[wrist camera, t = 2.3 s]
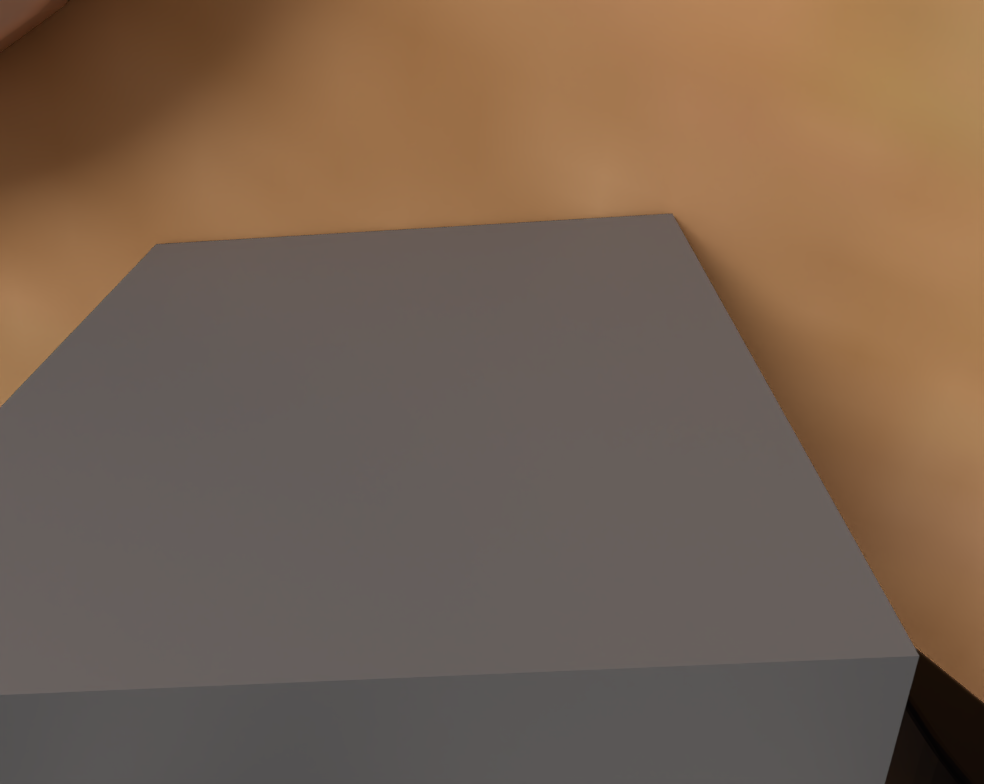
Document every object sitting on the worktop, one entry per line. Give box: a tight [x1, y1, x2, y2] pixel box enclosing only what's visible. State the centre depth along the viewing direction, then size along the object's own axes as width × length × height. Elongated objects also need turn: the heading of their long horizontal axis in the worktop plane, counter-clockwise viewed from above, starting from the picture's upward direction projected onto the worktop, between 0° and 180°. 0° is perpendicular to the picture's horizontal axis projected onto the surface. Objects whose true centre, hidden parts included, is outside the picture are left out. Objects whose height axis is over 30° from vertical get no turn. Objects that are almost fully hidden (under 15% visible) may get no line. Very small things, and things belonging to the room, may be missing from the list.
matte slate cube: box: [0, 214, 919, 784], centre depth 9 cm, size 6×6×7 cm
